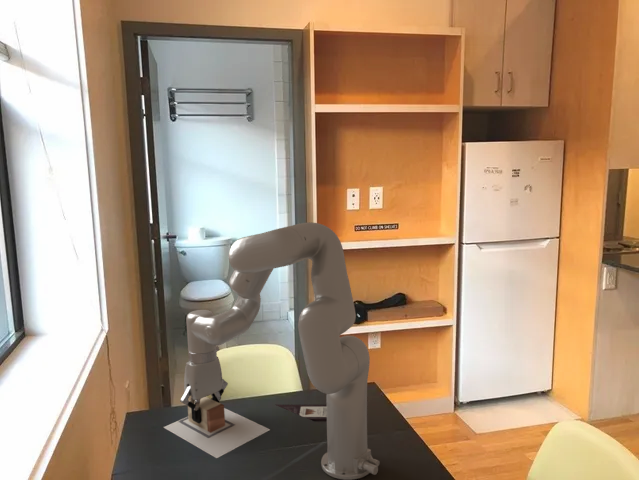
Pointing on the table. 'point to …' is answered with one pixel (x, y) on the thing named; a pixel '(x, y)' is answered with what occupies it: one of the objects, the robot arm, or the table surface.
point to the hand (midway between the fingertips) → (206, 416)
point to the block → (209, 415)
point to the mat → (218, 433)
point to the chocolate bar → (308, 411)
